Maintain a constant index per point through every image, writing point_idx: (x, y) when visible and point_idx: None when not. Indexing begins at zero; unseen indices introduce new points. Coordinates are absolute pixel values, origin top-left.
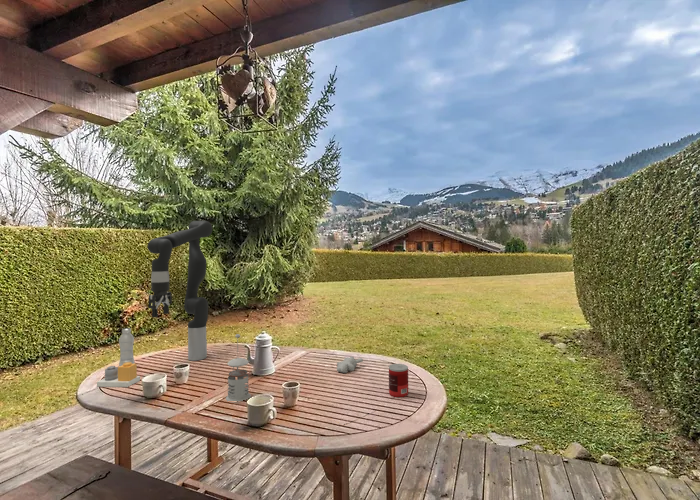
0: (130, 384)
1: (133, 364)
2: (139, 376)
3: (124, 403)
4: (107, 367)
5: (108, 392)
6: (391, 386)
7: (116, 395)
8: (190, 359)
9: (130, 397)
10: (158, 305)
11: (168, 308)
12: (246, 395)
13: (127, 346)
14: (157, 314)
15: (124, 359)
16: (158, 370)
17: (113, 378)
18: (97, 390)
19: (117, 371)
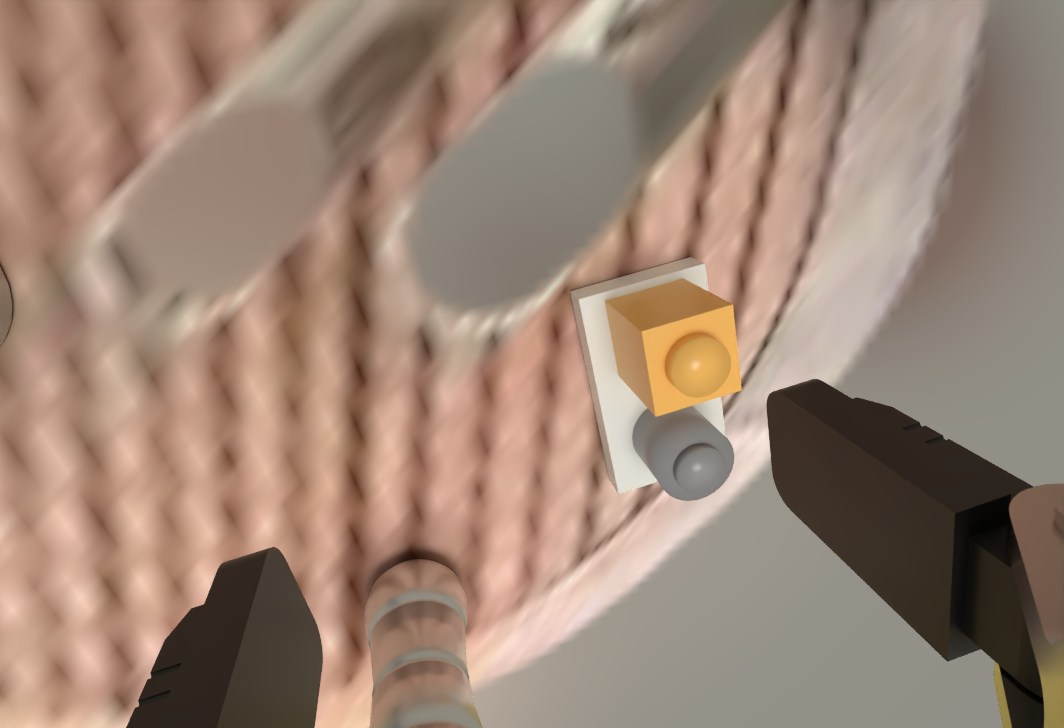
0: (668, 265)
1: (664, 336)
2: (585, 296)
3: (912, 20)
4: (715, 487)
5: (777, 293)
6: None
7: (811, 197)
8: (6, 300)
9: (830, 70)
10: (1055, 621)
11: (182, 687)
12: None
13: (451, 693)
14: (817, 410)
15: (458, 619)
16: (357, 349)
17: None
18: (760, 385)
19: (670, 425)
